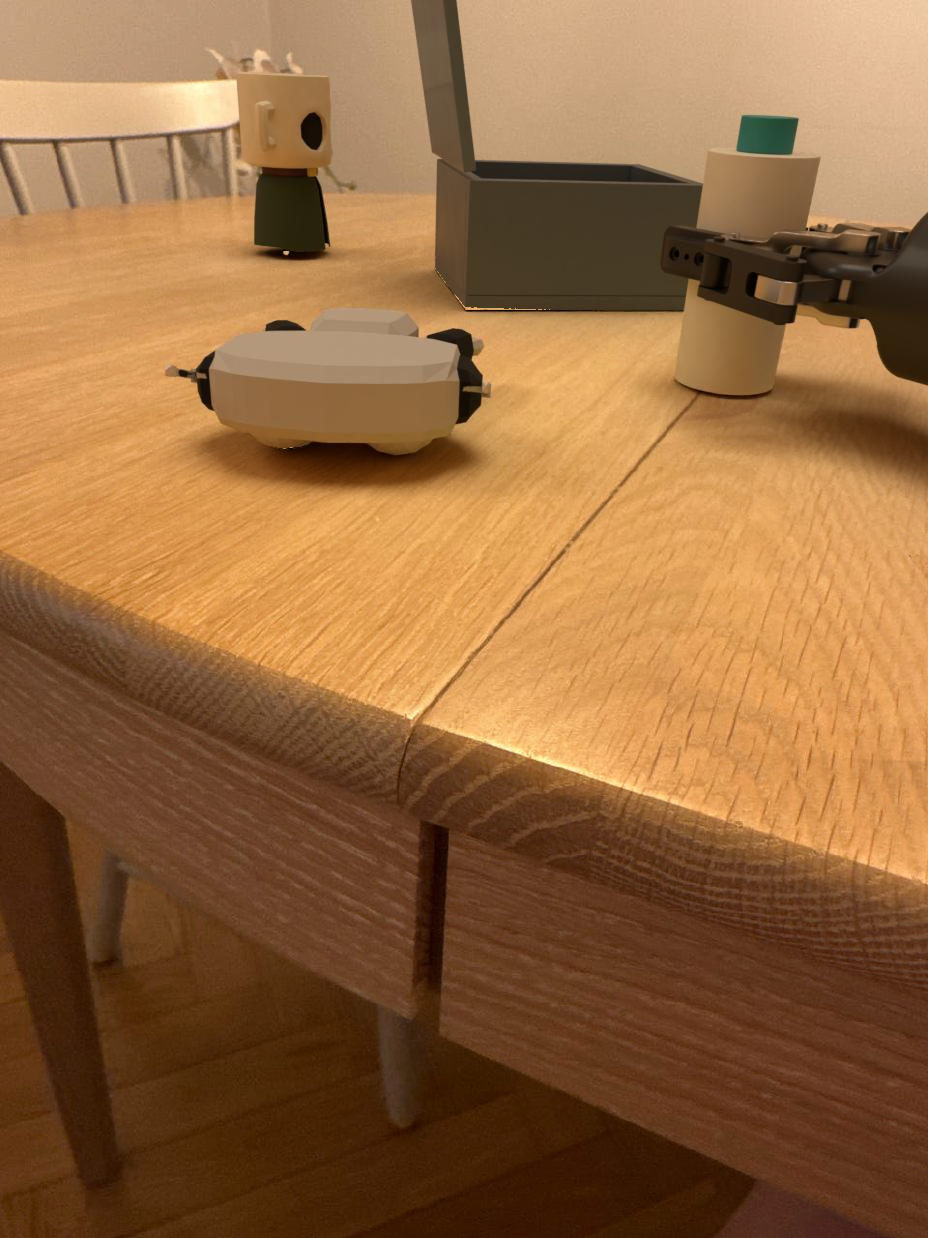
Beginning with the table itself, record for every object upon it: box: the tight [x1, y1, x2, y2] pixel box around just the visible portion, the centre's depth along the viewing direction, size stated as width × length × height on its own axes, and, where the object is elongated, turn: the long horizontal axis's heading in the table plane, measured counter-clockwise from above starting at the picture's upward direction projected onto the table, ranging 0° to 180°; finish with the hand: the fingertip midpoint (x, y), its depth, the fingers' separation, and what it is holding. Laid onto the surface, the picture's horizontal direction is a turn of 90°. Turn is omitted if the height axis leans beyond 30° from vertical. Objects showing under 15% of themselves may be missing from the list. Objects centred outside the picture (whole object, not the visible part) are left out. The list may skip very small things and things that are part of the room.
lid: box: [410, 0, 476, 172], centre depth 60 cm, size 17×14×1 cm
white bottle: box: [673, 114, 822, 396], centre depth 47 cm, size 5×5×12 cm
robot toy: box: [164, 307, 492, 456], centre depth 42 cm, size 12×4×15 cm
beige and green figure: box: [235, 71, 334, 253], centre depth 75 cm, size 11×7×13 cm, turn 168°
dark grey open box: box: [434, 158, 703, 312], centre depth 68 cm, size 16×14×8 cm
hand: (706, 243), depth 49 cm, fingers closed on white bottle, 5 cm apart
